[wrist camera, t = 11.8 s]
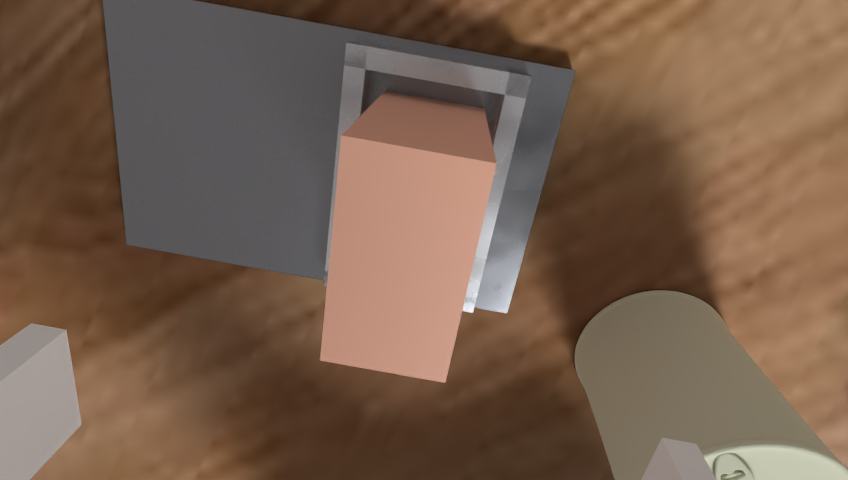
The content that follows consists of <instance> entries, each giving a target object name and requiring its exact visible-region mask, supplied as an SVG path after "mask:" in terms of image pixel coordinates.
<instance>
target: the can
mask: <svg viewBox="0 0 848 480" xmlns="http://www.w3.org/2000/svg"><path fill="white" fill-rule="evenodd" d="M575 368H576V372H577V375H578V377H579V380H580V382H581V383H582V385H583V387H584V389H585V392H586V394H587V397H588V400H589V403H590V406H591V409H592V412H593V415H594V418H595V421H596V424H597V427H598V430H599V433H600V436H601V439H602V442H603V445H604V448H605V451H606V454H607V458H608V461H609V464H610V467H611V470H612V473H613V476H614V479H615V480H641V479H642V477H643V475H644V473H645V471H646V469H647V467H648V465H649V463H650V461H651V459H652V457H653V455H654V453H655V451H656V449H657V447H658V445H659V443H660V441H661V439H662V438H667V439H673V440H678V441H684V442H689V443H695V444H697V445H698V447H699V449H700V451H701V453H702V455H703V456H704V458H705V460H706V462H707V464H708V465H709V467H710V469H711V471H712V473H713V475H714V476H715V478H716V480H848V468H847V467H846V466H845V465H844V464H843V463H842V462H840V461H839V460H838V459H837V458H836V457H835V455H834V454H833V453H832V452H831V451H830V450H829V449H828V448H827V446H826V445H825V444H824V443H823V442H822V441H821V440H820V439H819V437H818V436H817V435H816V434H815V433H814V432H813V431H812V429H811V428H810V427H809V426H808V425H807V424H806V422H805V421H804V420H803V419H802V418H801V416H800V415H799V414H798V413H797V412H796V411H795V409H794V408H793V407H792V406H791V405H790V404H789V402H788V401H787V400H786V399H785V398H784V397H783V395H782V394H781V393H780V392H779V391H778V389H777V388H776V387H775V386H774V385H773V384H772V382H771V381H770V380H769V379H768V378H767V376H766V375H765V374H764V373H763V372H762V370H761V369H760V368H759V367H758V366H757V364H756V363H755V362H754V361H753V360H752V358H751V357H750V356H749V355H748V354H747V352H746V351H745V350H744V349H743V348H742V346H741V345H740V344H739V343H738V341H737V340H736V339H735V338H734V336H733V335H732V334H731V333H730V331H729V330H728V329H727V327H726V324H725V322H724V321H723V319H722V318H721V316H720V315H719V314H718V313H717V312H716V311H715V310H714V309H713V308H712V307H711V306H710V305H709V304H707V303H706V302H704V301H702V300H701V299H699V298H696V297H694V296H692V295H689V294H686V293H682V292H677V291H668V290H654V291H646V292H640V293H636V294H632V295H629V296H626V297H624V298H621V299H619V300H617V301H615V302H613V303H611V304H610V305H608V306H607V307H605V308H604V309H602V310H601V311H600V312H599V313H597V314H596V315H595V316H594V317H593V318H592V319H591V320H590V321H589V322H588V324H587V325H586V326H585V328H584V329H583V331H582V333H581V335H580V337H579V339H578V342H577V345H576V349H575Z"/></svg>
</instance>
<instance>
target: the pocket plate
mask: <svg viewBox="0 0 848 480" xmlns="http://www.w3.org/2000/svg"><path fill="white" fill-rule="evenodd" d="M103 9H104V20H105V30H106V40H107V50H108V60H109V71H110V81H111V91H112V101H113V111H114V122H115V132H116V142H117V152H118V163H119V173H120V183H121V193H122V203H123V214H124V224H125V234H126V244H127V245H131V246H136V247H142V248H147V249H153V250H159V251H164V252H170V253H175V254H181V255H186V256H192V257H197V258H203V259H208V260H214V261H219V262H225V263H230V264H236V265H241V266H247V267H253V268H258V269H264V270H269V271H275V272H280V273H286V274H291V275H297V276H302V277H308V278H313V279H319V280H324V286H327V280H328V270H329V259H330V249H331V238H332V227H333V217H334V206H335V195H336V185H337V174H338V164H339V153H340V142H341V135H342V134H343V133H344V132H345V131H346V130H347V129H348V128H349V127H350V126H351V125H352V124H353V123H354V122H355V121H356V120H357V119H358V118H359V117H360V116H361V115H362V114H363V113H364V112H365V111H366V110H367V109H368V108H369V107H370V106H371V105H372V104H373V103H374V102H375V101H376V100H377V99H378V98H379V97H380V96H381V95H382V94H383V93H384V92H385V91H390V92H396V93H401V94H407V95H413V96H418V97H424V98H429V99H435V100H440V101H446V102H451V103H457V104H462V105H468V106H473V107H479V108H484V110H485V115H486V119H487V123H488V128H489V132H490V136H491V141H492V145H493V149H494V154H495V158H496V163H497V164H496V169H495V173H494V177H493V182H492V186H491V190H490V194H489V199H488V203H487V207H486V211H485V216H484V220H483V224H482V229H481V233H480V237H479V241H478V246H477V250H476V254H475V258H474V263H473V267H472V271H471V276H470V280H469V284H468V288H467V293H466V297H465V301H464V305H463V310H462V311H465V312H471V313H473V311H474V308H479V309H485V310H490V311H496V312H501V313H507V312H508V308H509V305H510V301H511V298H512V294H513V291H514V287H515V284H516V280H517V276H518V273H519V269H520V266H521V262H522V259H523V255H524V252H525V248H526V245H527V241H528V238H529V234H530V231H531V227H532V223H533V220H534V216H535V213H536V209H537V206H538V202H539V199H540V195H541V192H542V188H543V185H544V181H545V178H546V174H547V170H548V167H549V163H550V160H551V156H552V153H553V149H554V146H555V142H556V139H557V135H558V132H559V128H560V124H561V121H562V117H563V114H564V110H565V107H566V103H567V100H568V96H569V93H570V89H571V86H572V82H573V79H574V75H575V70H573V69H570V68H564V67H559V66H553V65H548V64H543V63H537V62H532V61H526V60H521V59H515V58H510V57H505V56H499V55H494V54H488V53H483V52H477V51H472V50H467V49H461V48H456V47H450V46H445V45H439V44H434V43H429V42H423V41H418V40H412V39H407V38H401V37H396V36H390V35H385V34H380V33H374V32H369V31H363V30H358V29H352V28H347V27H342V26H336V25H331V24H325V23H320V22H314V21H309V20H304V19H298V18H293V17H287V16H282V15H276V14H271V13H266V12H260V11H255V10H249V9H244V8H238V7H233V6H228V5H222V4H217V3H211V2H206V1H200V0H103Z"/></svg>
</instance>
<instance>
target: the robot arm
mask: <svg viewBox="0 0 848 480" xmlns="http://www.w3.org/2000/svg"><path fill="white" fill-rule="evenodd" d="M80 425H81V418H80V412H79V406H78V399H77V393H76V387H75V381H74V374H73V368H72V362H71V356H70V350H69V343H68V337H67V331H66V330H65V329H59V328H54V327H48V326H43V325H37V324H32V323H31V324H30V325H28V326H27V327H26V328H24V329H23V330H21V331H20V332H19V333H17V334H16V335H14V336H13V337H11V338H10V339H9V340H7V341H6V342H4V343H3V344H2V345H0V480H30V479H31V478H32V477H33V476H34V475H35V473H36V472H37V471H38V470H39V469H40V468H41V467H42V466H43V465H44V464H45V463H46V462H47V461H48V460H49V459H50V457H51V456H52V455H53V454H54V453H55V452H56V451H57V450H58V449H59V448H60V447H61V446H62V445H63V444H64V443H65V441H66V440H67V439H68V438H69V437H70V436H71V435H72V434H73V433H74V432H75V431H76V430H77V429H78V428H79V427H80ZM641 480H716V478H715V476H714V475H713V473H712V471H711V469H710V467H709V465H708V464H707V462H706V460H705V458H704V456H703V455H702V453H701V451H700V449H699V447H698V445H697V444H695V443H689V442H684V441H678V440H673V439H667V438H662V439H661V441H660V443H659V445H658V447H657V449H656V451H655V453H654V455H653V457H652V459H651V461H650V463H649V465H648V467H647V469H646V471H645V473H644V475H643V477H642V479H641Z"/></svg>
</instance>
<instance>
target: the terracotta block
mask: <svg viewBox="0 0 848 480" xmlns="http://www.w3.org/2000/svg"><path fill="white" fill-rule="evenodd" d="M496 164H497V163H496V158H495V154H494V149H493V145H492V141H491V136H490V132H489V128H488V123H487V119H486V115H485V110H484V108H479V107H473V106H468V105H462V104H457V103H451V102H446V101H440V100H435V99H429V98H424V97H418V96H413V95H407V94H401V93H396V92H390V91H385V92H384V93H383V94H382V95H381V96H380V97H379V98H378V99H377V100H376V101H375V102H374V103H373V104H372V105H371V106H370V107H369V108H368V109H367V110H366V111H365V112H364V113H363V114H362V115H361V116H360V117H359V118H358V119H357V120H356V121H355V122H354V123H353V124H352V125H351V126H350V127H349V128H348V129H347V130H346V131H345V132H344V133H343V134H342V135H341V142H340V153H339V164H338V174H337V185H336V195H335V206H334V217H333V227H332V238H331V249H330V259H329V270H328V280H327V291H326V302H325V312H324V323H323V334H322V344H321V355H320V361H325V362H331V363H337V364H342V365H348V366H353V367H359V368H365V369H370V370H376V371H381V372H387V373H393V374H398V375H404V376H410V377H415V378H421V379H426V380H432V381H438V382H443V383H445V382H446V378H447V374H448V370H449V365H450V361H451V357H452V353H453V348H454V344H455V340H456V335H457V331H458V327H459V323H460V318H461V314H462V310H463V305H464V301H465V297H466V293H467V288H468V284H469V280H470V276H471V271H472V267H473V263H474V258H475V254H476V250H477V246H478V241H479V237H480V233H481V229H482V224H483V220H484V216H485V211H486V207H487V203H488V199H489V194H490V190H491V186H492V182H493V177H494V173H495V169H496Z"/></svg>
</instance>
